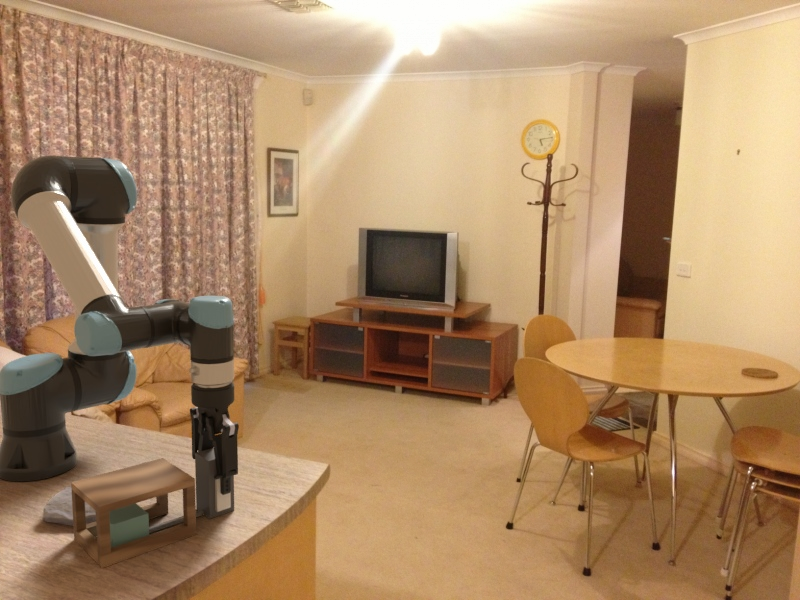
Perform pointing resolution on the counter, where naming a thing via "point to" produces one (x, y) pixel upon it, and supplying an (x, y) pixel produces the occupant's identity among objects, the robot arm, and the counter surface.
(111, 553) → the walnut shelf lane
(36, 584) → the counter surface
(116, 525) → the tethered block
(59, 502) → the stone block
